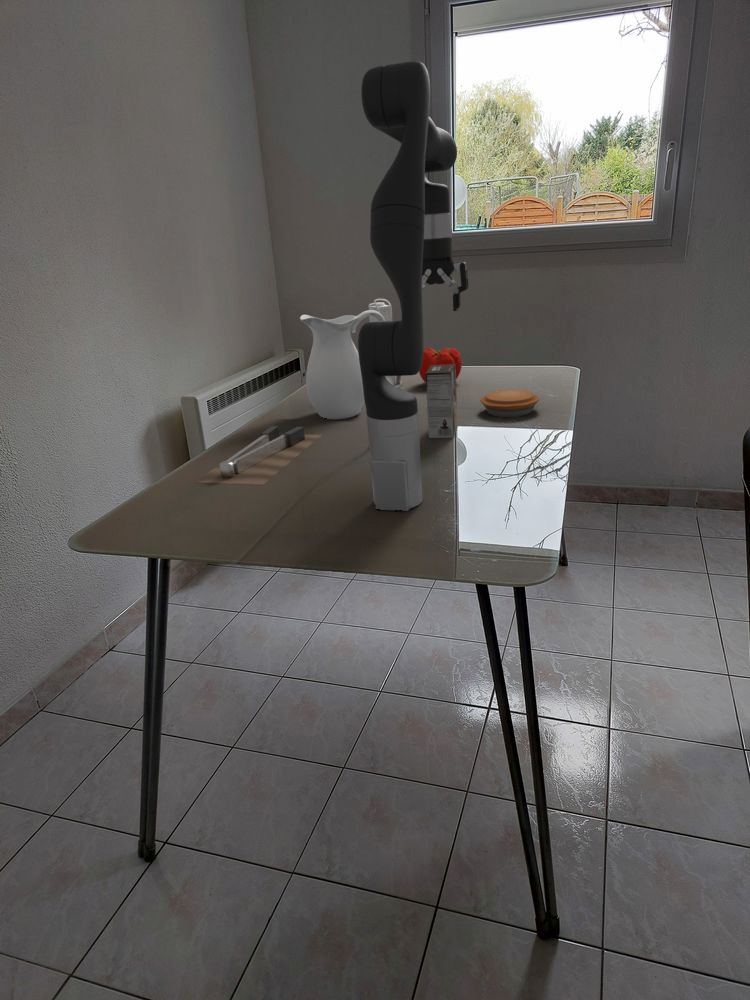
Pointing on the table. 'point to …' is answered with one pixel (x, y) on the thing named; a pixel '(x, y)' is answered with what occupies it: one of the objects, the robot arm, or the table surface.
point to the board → (261, 466)
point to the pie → (509, 402)
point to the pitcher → (335, 366)
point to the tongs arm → (269, 449)
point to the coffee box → (441, 401)
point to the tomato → (440, 360)
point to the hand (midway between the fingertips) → (437, 311)
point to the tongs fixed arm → (266, 437)
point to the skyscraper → (387, 314)
